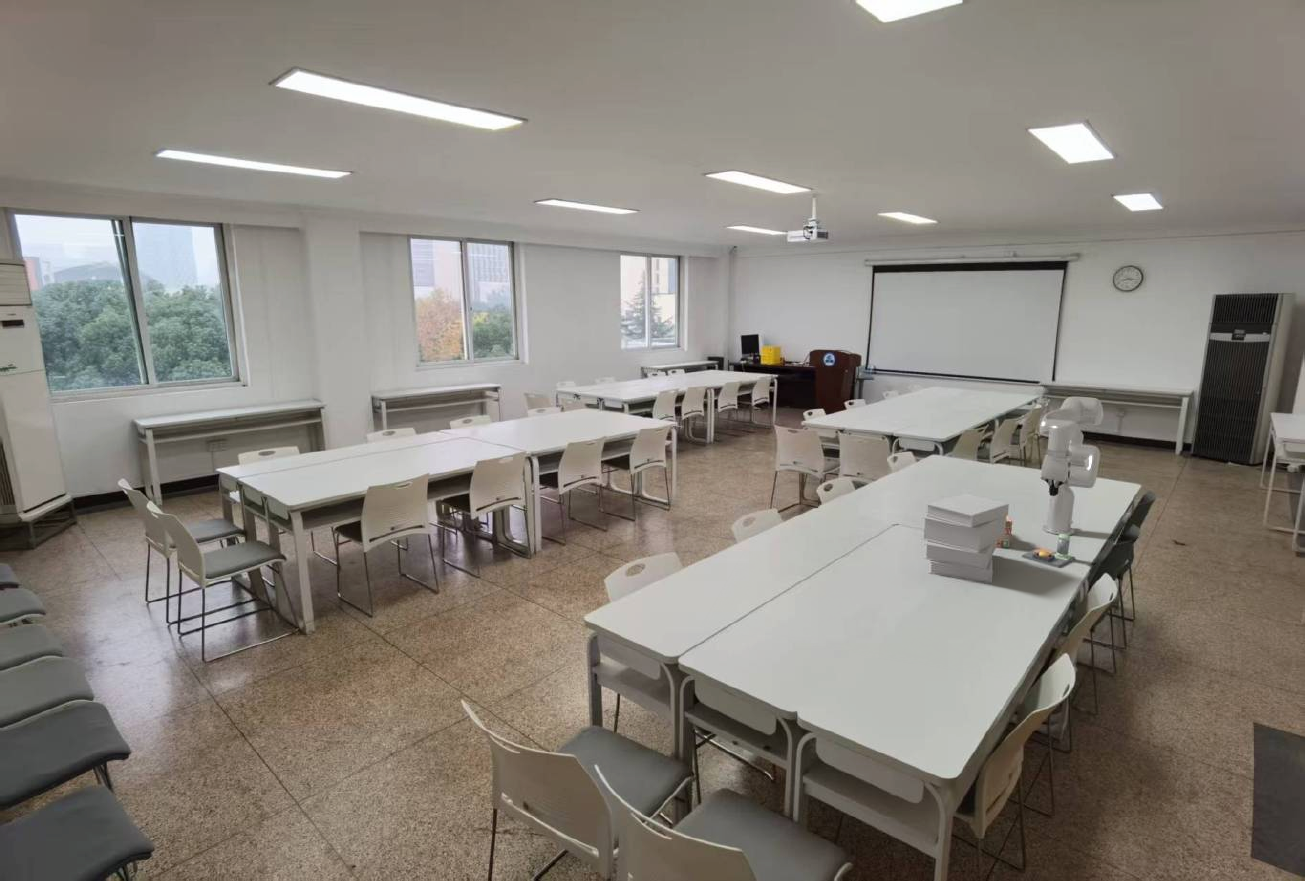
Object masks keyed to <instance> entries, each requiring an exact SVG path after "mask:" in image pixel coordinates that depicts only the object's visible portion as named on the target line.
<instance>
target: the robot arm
mask: <svg viewBox="0 0 1305 881" xmlns="http://www.w3.org/2000/svg"><path fill="white" fill-rule="evenodd" d="M1103 419H1104V409H1103V404H1102V402H1101V400H1099V399H1098V398H1095V397H1087V396H1070V397H1067V398H1066V399H1064V400H1063V402H1062V405H1061V407H1059V408H1058V409H1056V410H1052V411H1049V412H1048V413H1045V415H1044V416H1043V418H1042V419H1041V421H1040V424H1039V428H1038V430H1039V433H1040V435H1042V436H1043V437H1048V442H1047V451H1046V454H1045V455H1044V458H1043V461H1042V464H1041V471H1040V479H1041V480H1043V481H1044V482H1045V483H1047V486H1048V488H1049V489H1048V493H1049V502H1048V512H1047V520H1046V524H1043V526H1042V531H1044V532H1045V533H1050V534H1054V535H1058V536H1059V534H1067V535H1070V536H1071V535H1074V534H1075V530H1074V529H1073V528H1072V525H1073V523H1074V521H1073V513H1074V505H1075V499H1076V498H1075V493H1074V491H1073V490H1072V488H1071V487H1075V488H1080V489H1081V488H1083V489H1091V488H1093V487H1094V486H1095V484H1096V480H1097V475H1098V471H1099V463H1100V459H1101V458H1100V457H1101V454H1100V453H1101V452H1100V450H1099V448H1098V447H1097V446H1095V445H1092V444H1091V445H1090V444H1083V442H1084V434H1083V432H1082V430H1081V428H1080V426H1079V425H1087V426H1099V425H1100V424H1101V423H1102V422H1103Z"/></svg>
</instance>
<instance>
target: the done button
mask: <svg viewBox="0 0 1305 881" xmlns="http://www.w3.org/2000/svg"><path fill="white" fill-rule="evenodd" d="M1039 556H1042V557H1046V558H1048V557H1049V553H1048V552H1044V551H1040V552H1039Z"/></svg>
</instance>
